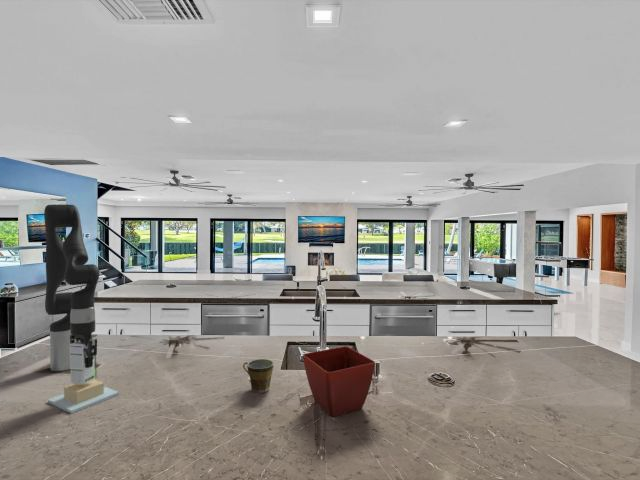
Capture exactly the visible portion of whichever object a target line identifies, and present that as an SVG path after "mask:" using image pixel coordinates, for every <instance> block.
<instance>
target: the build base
mask: <svg viewBox="0 0 640 480" xmlns="http://www.w3.org/2000/svg"><path fill="white" fill-rule="evenodd" d="M104 385H105V383H104V382H103V381H100V380H97V379H94V380H92V381H90V382H88V383H86V384H84V385H83V384H74V383H70V384H68V385H65V386H63V394H60V395H57V396H54V397H51V398H48V399H47V402H48V403H49V404H50V405H53V406H55V407H56V408H59V409H61V410H63V411H65V412H68V413H69V414H74V413H77V412H79V411H80V412H81V410H85V409H87V408H89V407H92V406H94V405H96V404H99V403H102V402H104V401H106V400H109V399H112V398H115V397H116V396H119V395H120V394H119V391H117V390H115V389H113V388H112V389H111V388H109V387H107V386H104Z"/></svg>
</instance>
